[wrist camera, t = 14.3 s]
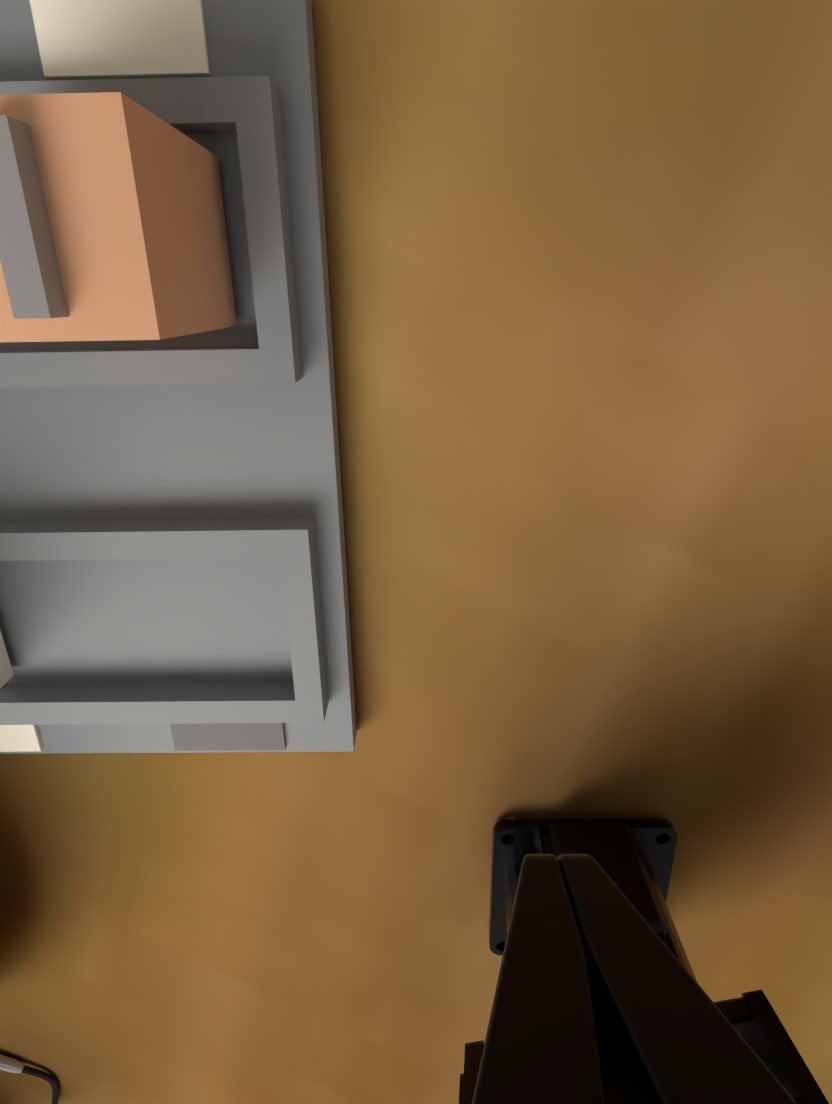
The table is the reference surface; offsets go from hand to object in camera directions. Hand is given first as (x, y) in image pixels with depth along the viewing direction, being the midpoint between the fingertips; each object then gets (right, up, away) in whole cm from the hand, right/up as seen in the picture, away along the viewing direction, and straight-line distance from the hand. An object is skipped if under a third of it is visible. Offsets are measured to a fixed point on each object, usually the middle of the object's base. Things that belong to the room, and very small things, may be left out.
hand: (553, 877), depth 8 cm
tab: (-8, +11, +7) cm, 16 cm away
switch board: (-12, +7, +10) cm, 17 cm away
